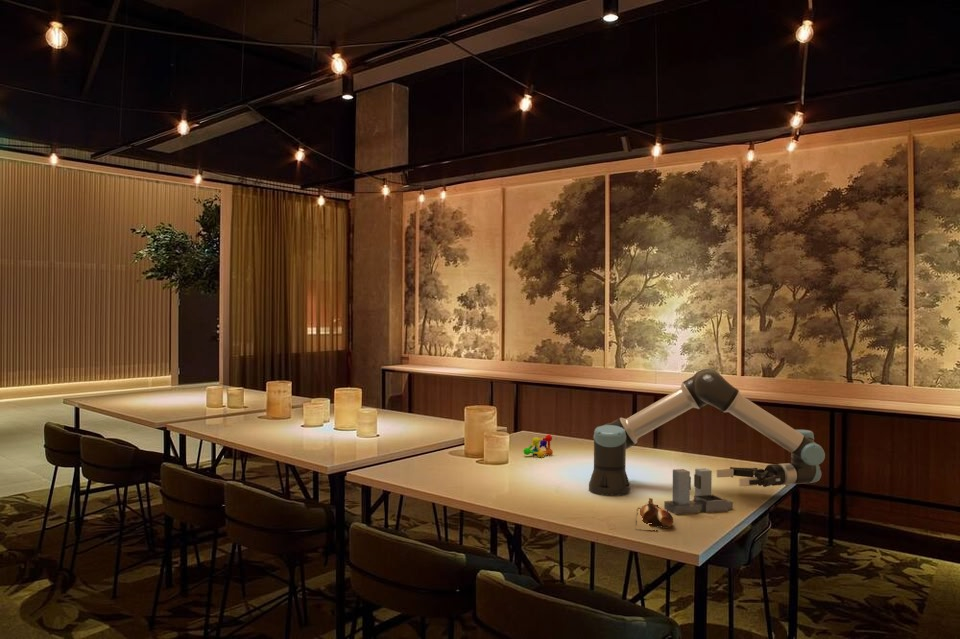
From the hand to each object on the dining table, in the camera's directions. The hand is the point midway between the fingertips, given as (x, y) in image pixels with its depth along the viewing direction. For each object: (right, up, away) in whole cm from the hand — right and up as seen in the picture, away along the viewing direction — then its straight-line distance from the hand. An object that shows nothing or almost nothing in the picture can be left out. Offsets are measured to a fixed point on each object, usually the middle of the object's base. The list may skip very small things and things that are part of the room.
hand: (728, 477), depth 244 cm
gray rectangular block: (-10, -8, -2) cm, 13 cm away
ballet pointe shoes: (-32, -8, -25) cm, 42 cm away
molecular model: (-61, -7, +74) cm, 96 cm away
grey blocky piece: (-15, -8, -13) cm, 21 cm away
